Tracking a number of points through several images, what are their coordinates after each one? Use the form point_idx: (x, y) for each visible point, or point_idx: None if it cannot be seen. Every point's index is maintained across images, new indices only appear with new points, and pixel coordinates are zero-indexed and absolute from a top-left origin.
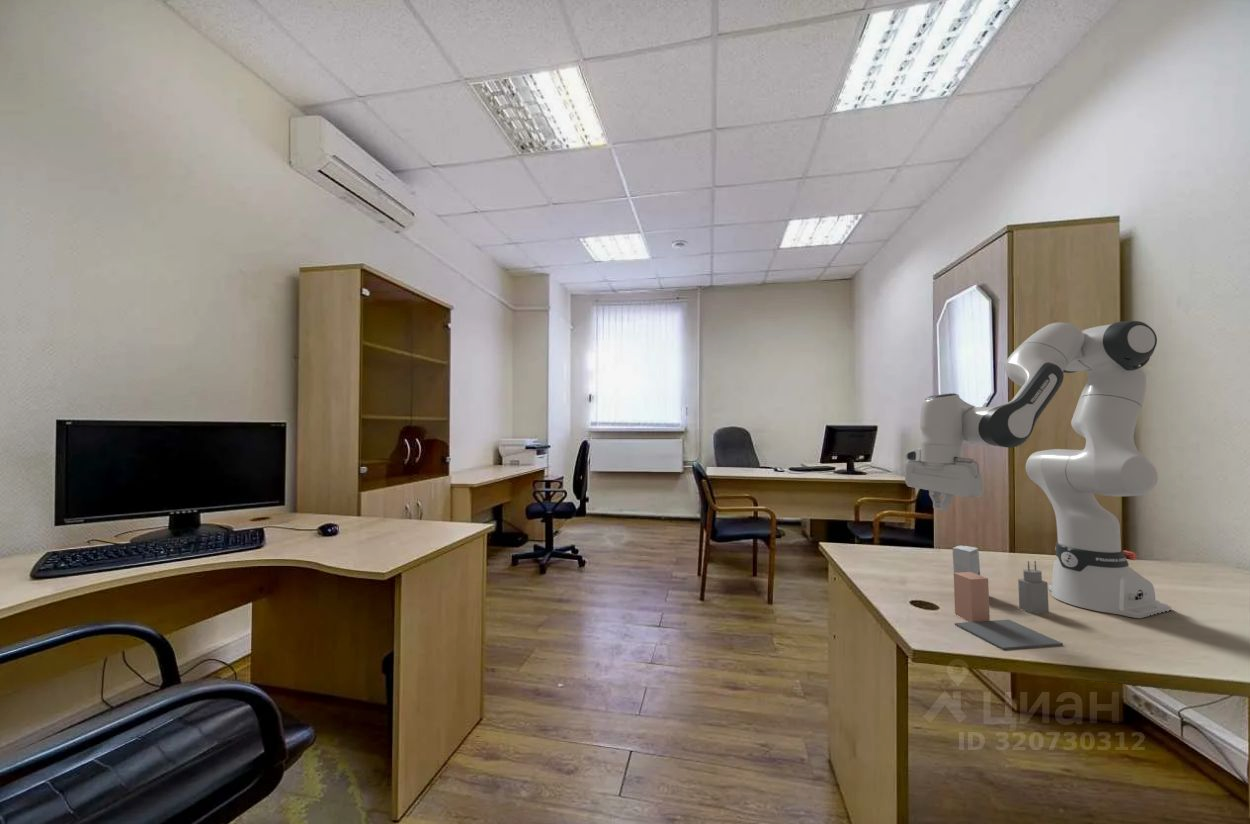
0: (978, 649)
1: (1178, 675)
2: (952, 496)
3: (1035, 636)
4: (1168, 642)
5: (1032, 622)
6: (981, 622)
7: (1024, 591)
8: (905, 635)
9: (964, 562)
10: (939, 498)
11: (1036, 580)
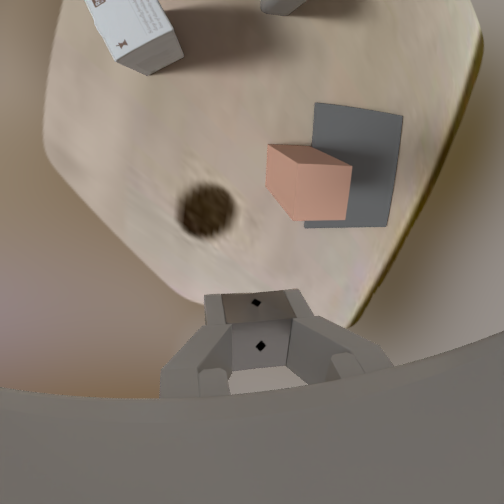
0: (372, 258)
1: (469, 73)
2: (383, 359)
3: (378, 133)
4: None
5: (327, 61)
6: None
7: (292, 2)
8: None
9: (159, 49)
10: (217, 351)
11: None
